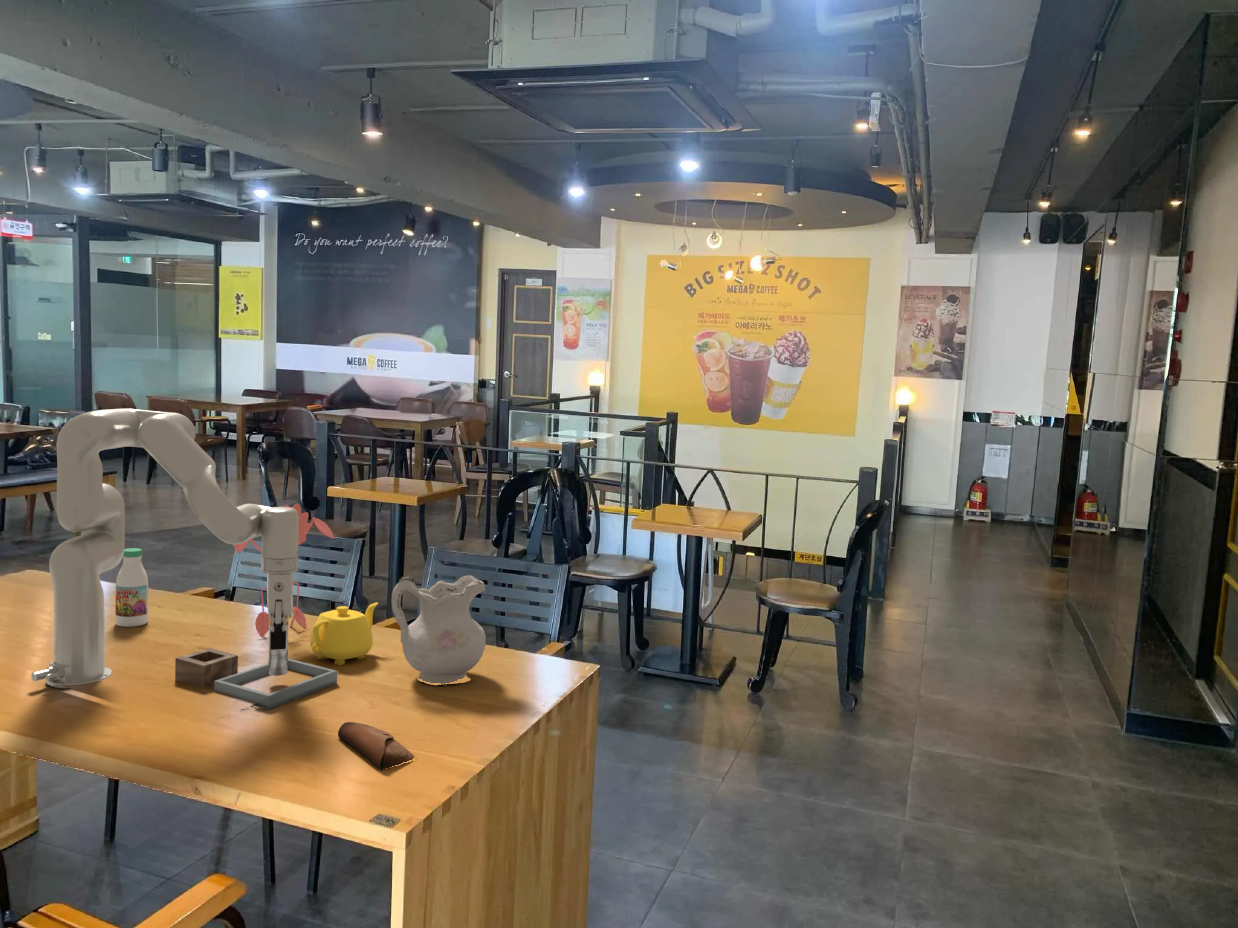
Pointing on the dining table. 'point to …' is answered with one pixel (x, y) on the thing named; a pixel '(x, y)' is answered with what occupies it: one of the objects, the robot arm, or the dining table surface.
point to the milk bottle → (132, 590)
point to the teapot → (343, 634)
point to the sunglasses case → (374, 744)
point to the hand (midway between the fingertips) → (278, 644)
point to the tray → (279, 697)
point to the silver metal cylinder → (278, 654)
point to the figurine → (263, 617)
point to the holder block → (205, 667)
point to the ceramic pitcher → (441, 629)
